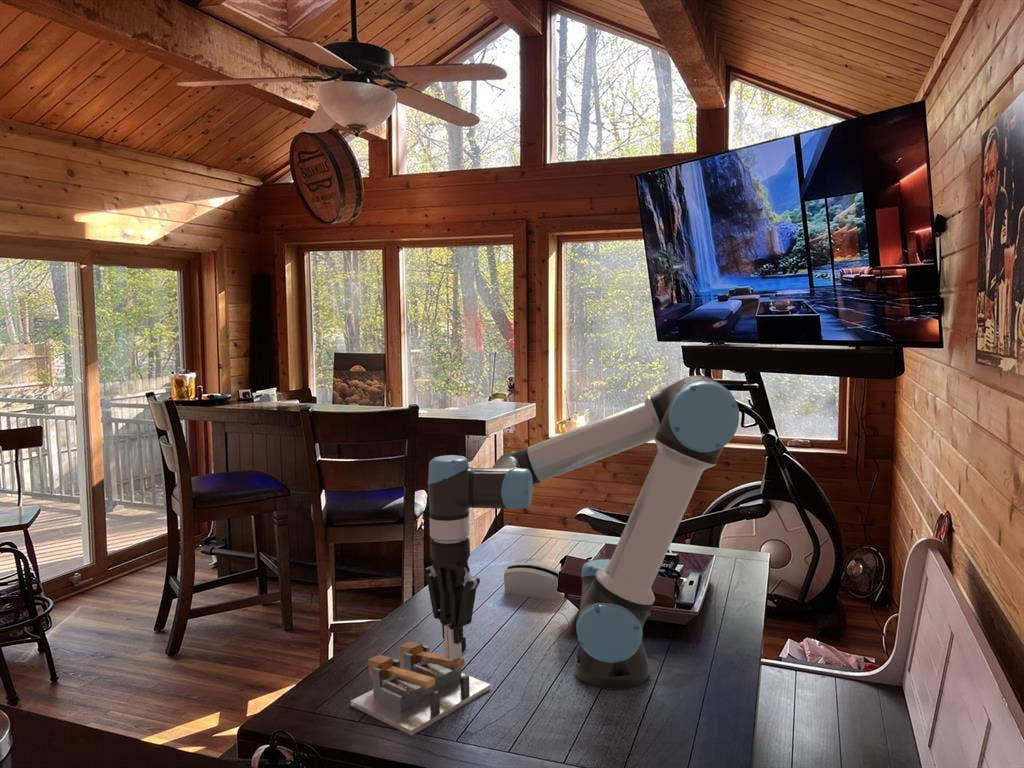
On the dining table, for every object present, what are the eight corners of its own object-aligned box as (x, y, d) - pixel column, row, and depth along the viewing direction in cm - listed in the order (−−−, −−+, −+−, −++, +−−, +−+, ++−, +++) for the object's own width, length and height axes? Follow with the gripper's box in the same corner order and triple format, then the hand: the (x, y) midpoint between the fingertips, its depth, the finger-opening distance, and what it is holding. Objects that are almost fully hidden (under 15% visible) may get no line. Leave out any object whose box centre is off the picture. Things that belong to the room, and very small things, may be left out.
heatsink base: (490, 689, 151) (489, 657, 150) (411, 735, 135) (410, 700, 134) (430, 665, 162) (429, 635, 161) (350, 705, 146) (349, 672, 145)
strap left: (369, 676, 150) (368, 659, 150) (381, 671, 152) (379, 654, 152) (426, 693, 139) (424, 675, 139) (437, 687, 141) (435, 669, 141)
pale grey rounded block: (570, 594, 200) (564, 563, 196) (564, 606, 196) (558, 575, 192) (511, 586, 207) (505, 556, 203) (505, 597, 203) (498, 567, 199)
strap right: (401, 662, 156) (398, 646, 156) (411, 657, 158) (409, 641, 158) (457, 673, 145) (454, 655, 145) (467, 667, 147) (464, 650, 147)
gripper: (489, 539, 144) (492, 659, 146) (439, 527, 152) (442, 641, 155) (461, 549, 138) (465, 674, 140) (411, 536, 147) (415, 654, 149)
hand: (453, 657), depth 147 cm, fingers closed
